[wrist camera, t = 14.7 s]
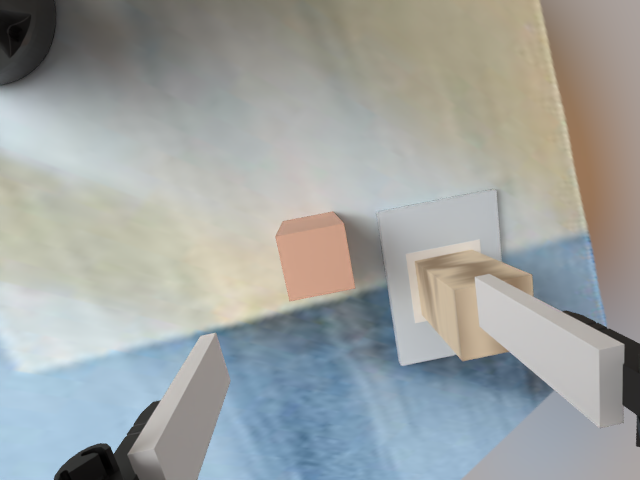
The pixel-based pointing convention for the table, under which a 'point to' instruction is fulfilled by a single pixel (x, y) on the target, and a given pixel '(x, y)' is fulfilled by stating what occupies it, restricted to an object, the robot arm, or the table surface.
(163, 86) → the table surface
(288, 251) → the terracotta block
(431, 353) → the white flat board
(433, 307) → the beech block
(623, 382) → the robot arm
